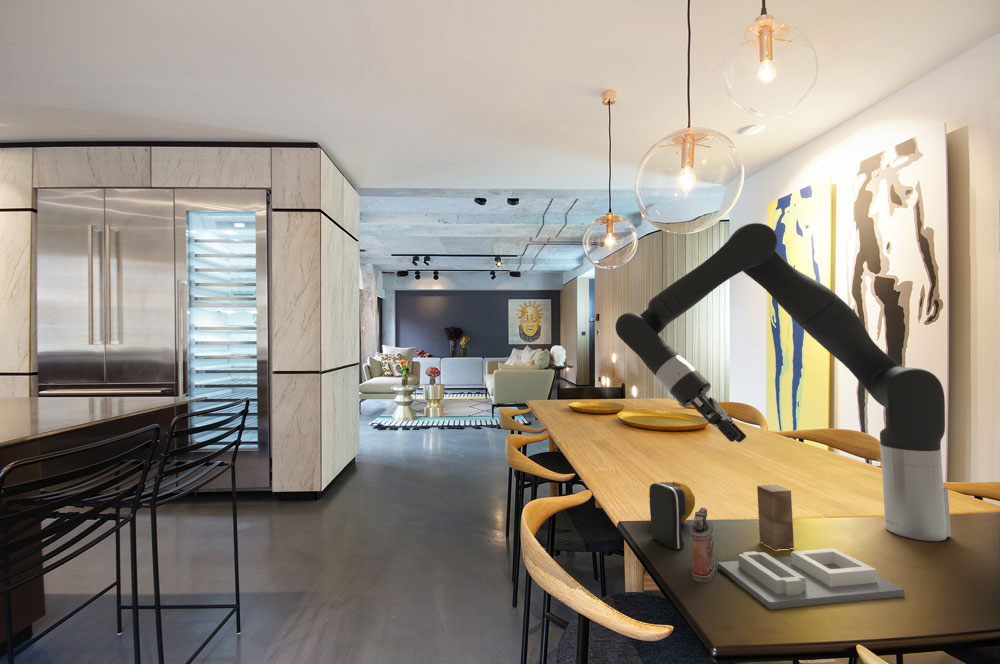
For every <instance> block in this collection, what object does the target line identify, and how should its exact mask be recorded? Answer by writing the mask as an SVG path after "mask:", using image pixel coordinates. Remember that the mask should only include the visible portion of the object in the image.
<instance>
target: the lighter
mask: <svg viewBox="0 0 1000 664" xmlns="http://www.w3.org/2000/svg"><path fill="white" fill-rule="evenodd" d="M707 518H708V509H707V508H706V507H700V508H699V510H698V511H695V513H694V517H693V519H694V522H692V523H691V525H690V528H689V533H690V534H689V535H690V538H691V553H692V565H691V578H692V579H693V580H695V581H697V582H700V583H701V582H702V583H707V582H709V581H710V580H711V579H712V578H713V576H714V575H715V571H714V570H716V569H715V567H716V566H715V560H714V551H713V550H714V546H715V545H714V544H715V543H714V536H713V532H714V526H713V522H712V521H711V520H708V519H707Z"/></svg>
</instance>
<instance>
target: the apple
mask: <svg viewBox="0 0 1000 664" xmlns="http://www.w3.org/2000/svg"><path fill="white" fill-rule="evenodd" d="M664 482H665V483H669V484H672V485H675V486H677V487H679V488H681V489H682V490H683V491H684V494H685V500H686V515H683V516H682V520H681V524H682V523H684V522H685V521H686V520H687V519H688V518H689V517H690V515H691V514H692V513H693V511H694V508H695V506H696V496H695V495H694V493H693V491H692V490H691V488H690V487H689V486H687V485H686V484H685V483H682V482H678V481H677V482H676V481H664Z"/></svg>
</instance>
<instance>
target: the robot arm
mask: <svg viewBox="0 0 1000 664" xmlns="http://www.w3.org/2000/svg"><path fill="white" fill-rule="evenodd" d="M777 246H778V237H777V234H776V231H775V230H774V229H773V228H772V227H771V226H770V225H768V224H765V223H762V222H751V223H747V224H744V225H741V227H739V228H738V229H736V230H735V231H734V232H733V234H731V236H730V237H729V238H728V240H727V241H726V242H725V243H724V244H723V245H722V246H721V247H720V248H719V249H718V250H717V251H716V252H714V254H712V255H710V257H709V258H707V259H706V260H704V261H703V263H701V264H699V265H698V266H696V267H695V268H693V269H692V270H691V271H689V272H688V273H686V274H684V275H683V276H682V277H680V278H679V279H677V280H676V281H674V282H673V283H671V284H670V285H669V286H667V287H665V289H663V290H662V291H661V292H658V294H656V295H655V296H654V297H652V298H651V299H650V300H649V302H648V305H647V309H645V310H644V311H643V312H642V313H641V314H638V313H637V312H626V313H623V314H621V315H619V316H618V318H617V320H616V322H615V332H616V335H617V336H618V338H619V339H620V340H621V341H622V342H623V343H624V344H625V345H627V346H628V348H630V349H631V350H632V351H633V352H634V354H636V355H637V356H638V357H639V358H640V359H641V361H642V362H643V363H644V365H645V366H646V367H647V368H648V369H649V370H650V371H651V373H652V374H653V375H654V376H656V378H657V379H658V381H659V382H660V383H661V384H662V386H663V387H664V388H665V389H666V390H667V391H668V392H669V393H670V395H672V397H674V399H675V400H676V401H677V402H678V403H679V405H681V406H682V407H683V408H689V407H691V406H693V407H694V408H695V409H696V412H697V413H699V414H700V415H701V416H703V419H704V420H706V421H707V422H708V424H711V425H712V426H713V427H715V428H716V429H718V431H720V433H722V434H723V436H724V437H726V439H727V440H728V441H730V442H735V441H736V442H737V443H741V442H742V441H744V440H745V439H746V438H747V435H746V434H745V433H744V431H742V430H741V429H740V428H739V427H738V426H737V424H736V423H735V422H734V420H733V419H732V417H731V416H730V415H729V414H728V412H727V411H726V409H724V408H723V407H722V406H721V405H720V403H719V402H718V401H717V400H716V399H715V398H714V397H713V398H712V397H711V396H709V397H708V396H707V393H708V392H709V391H710V390H711V388H712V385H711V383H710V382H709V381H708V380H707V379H706V378H705V377H704V376H703V375H702V374H701V373H700V372H699V371H698V370H697V369H696V368H695V367H694V366H693V365H692V364H691V363H690V362H689V361H687V359H685V358H684V357H683V356H681V355H680V354H679V352H677V351H676V350H675V349H674V348H673V347H672V346H671V345H670V344H668V342H666V341H665V340H664V338H663V339H662V337H661V336H660V335H659V334H660V333H662V331H663V330H664V329H665V328H666V327H667V326H668V325H669V324H670V323H671V322H673V321H674V320H676V319H678V318H679V317H680V316H681V315H683V314H685V313H686V312H687V311H689V310H690V309H691V308H692V307H694V306H695V305H697V304H698V303H699V302H700V301H701V300H703V299H704V298H706V296H708V295H709V294H711V292H713V291H714V290H715V289H717V288H718V287H720V286H721V285H722V284H723V283H726V281H728V280H730V279H731V278H733V277H734V276H736V275H738V274H739V273H742V272H743V273H744V274H745V275H747V276H748V277H749V278H751V279H752V280H753V281H755V282H756V284H759V285H760V286H761V287H762V288H763V289H764V290H766V292H767V293H768V294H769V295H770V296H771V297H772V298H773V300H775V301H776V303H778V305H779V306H780V307H781V308H782V309H783V310H784V311H785V312H786V313H787V314H788V315H789V317H791V319H792V320H794V321H795V322H796V323H797V324H798V325H799V326H800V327H801V328H802V329H803V330H804V331H805V332H806V333H807V334H808V335H809V336H810V337H812V338H813V339H814V340H815V341H816V342H817V343H818V344H819V345H821V346H822V348H824V349H825V351H827V352H828V353H829V354H831V355H832V356H833V357H834V358H835V359H837V361H839V362H840V363H842V365H843V366H845V368H847V369H848V370H849V372H851V373H852V374H853V376H854V378H856V379H857V381H858V382H859V383H860V384H861V385H862V387H863V388H864V389H865V390H866V391H867V393H869V394H870V396H871V398H873V399H874V400H875V401H876V403H878V404H879V405H881V406H883V407H884V408H886V409H887V425H886V427H885V428H883V429H881V430H880V432H879V439H880V440H879V443H880V460H881V475H882V490H883V491H882V493H883V494H882V495H883V508H884V509H883V510H884V523H885V526H884V527H885V529H886V530H887V531H888V532H890V533H893V534H895V535H898V536H901V537H904V538H909V539H911V540H912V539H913V540H917V541H925V542H941V541H946V540H947V537H952V535H951V534H952V531H951V530H952V529H951V519H950V517H951V516H950V503H949V490H948V487H946V486H944V477H943V476H944V475H943V464H942V447H941V446H942V445H941V444H942V443H941V441H942V439H943V438H944V435H945V431H946V406H945V405H946V404H945V403H946V402H945V401H946V400H945V393H944V387H943V384H942V382H941V381H940V379H939V378H938V377H937V375H935V374H934V373H932V372H930V371H928V370H926V369H923V368H917V367H906V366H903V365H901V364H900V363H898V362H897V361H896V360H894V359H893V358H892V357H891V356H889V355H888V354H887V353H886V352H885V351H883V350H882V348H880V347H879V346H878V345H877V344H876V343H875V342H874V340H873V339H872V337H871V336H870V334H869V333H868V331H867V329H866V327H865V325H864V324H863V322H862V320H861V318H860V317H859V316H858V315H857V312H855V311H854V309H852V308H851V306H849V305H848V304H847V303H846V302H845V301H844V299H842V298H841V297H840V296H838V294H836V293H835V292H834V291H833V290H831V289H830V288H829V287H827V286H826V285H824V284H822V283H821V282H819V281H817V279H814V278H813V277H810V276H808V275H807V274H805V273H803V272H801V271H799V270H798V269H796V268H795V267H793V265H791V264H790V263H789V262H787V260H785V258H784V257H782V256H781V254H780V253H779V252H778V251H777V250H776V249H777Z"/></svg>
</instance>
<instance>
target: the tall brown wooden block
mask: <svg viewBox="0 0 1000 664" xmlns="http://www.w3.org/2000/svg"><path fill="white" fill-rule="evenodd" d="M756 487H757V488H756V489H757V508H758V510H757V511H758V525H759V526H758V530H759V543H760V542H762V543H763V544H765V545H767V546H769V547H771V548H772V549H774V550H778V549H790V548H794V549H795V546H794V545H795V544H794V543H795V542H794V526H793V525H794V524H793V523H794V522H793V521H794V520H793V506H792V505H793V504H792V490H791V489H788V488H785V487H783V486H780V485H778V484H767V485H766V484H763V485H757V486H756ZM763 544H762V545H763Z"/></svg>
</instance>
